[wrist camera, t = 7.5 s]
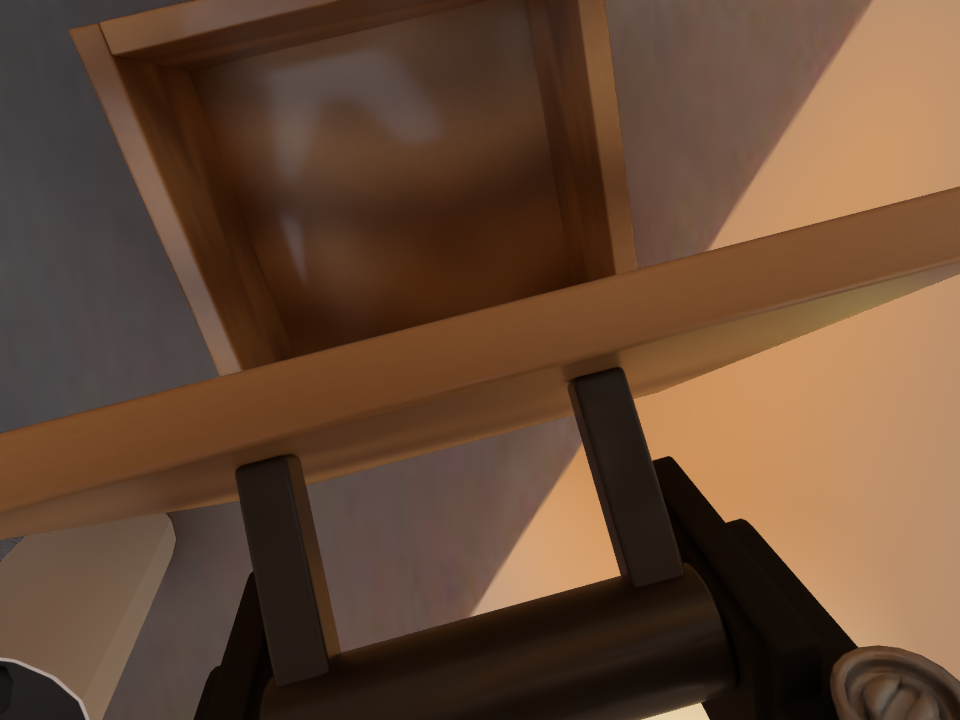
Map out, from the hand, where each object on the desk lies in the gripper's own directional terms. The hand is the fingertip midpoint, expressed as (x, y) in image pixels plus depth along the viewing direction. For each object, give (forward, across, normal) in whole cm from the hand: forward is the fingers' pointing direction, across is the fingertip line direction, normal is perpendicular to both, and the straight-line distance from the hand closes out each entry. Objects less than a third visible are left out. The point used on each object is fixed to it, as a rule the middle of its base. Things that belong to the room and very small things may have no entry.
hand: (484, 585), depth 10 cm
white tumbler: (+18, +18, +8) cm, 27 cm away
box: (+18, 0, -4) cm, 19 cm away
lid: (+4, 0, -2) cm, 4 cm away
